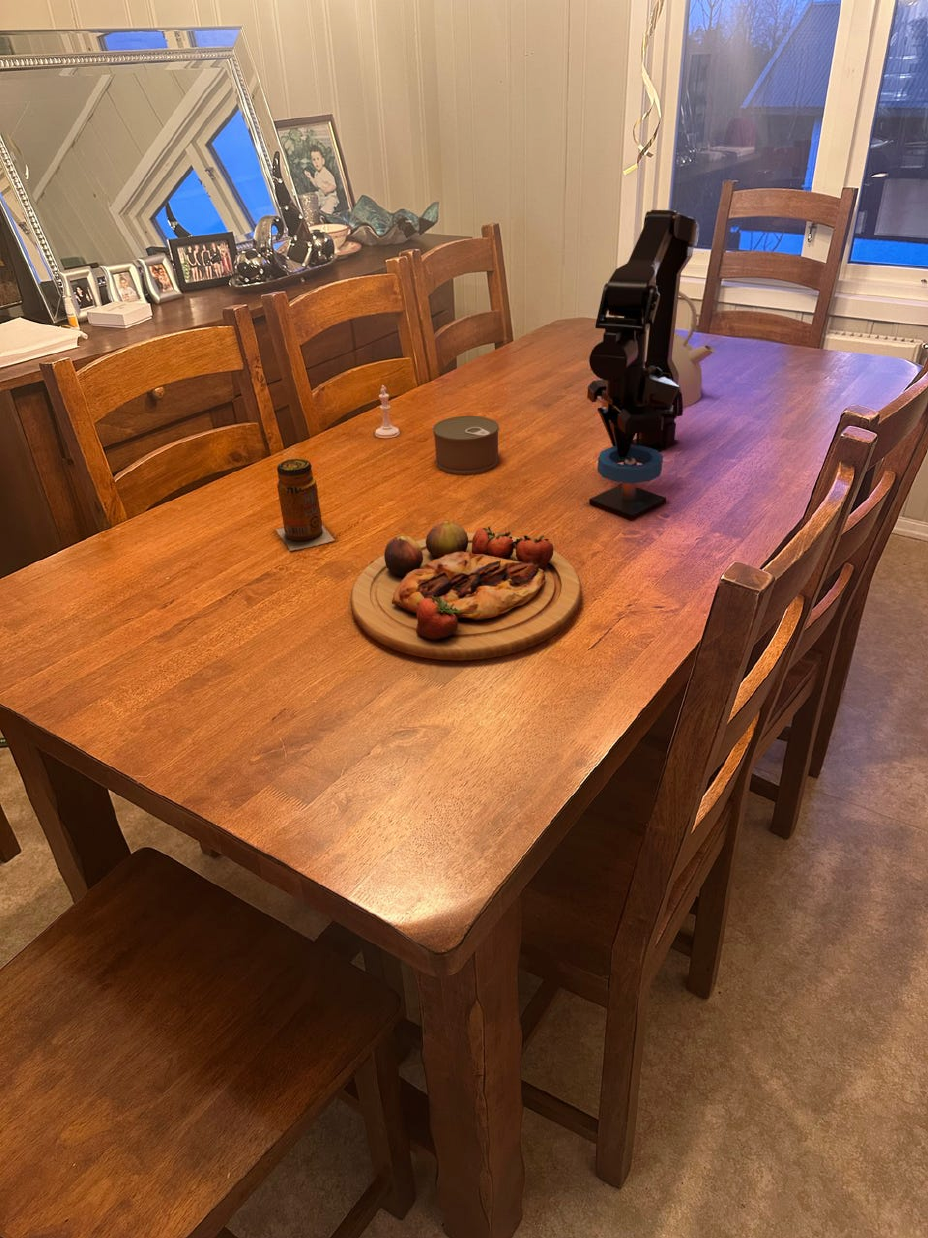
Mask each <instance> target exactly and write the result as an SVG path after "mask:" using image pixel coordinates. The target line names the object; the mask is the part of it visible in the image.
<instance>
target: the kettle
mask: <svg viewBox="0 0 928 1238" xmlns="http://www.w3.org/2000/svg"><path fill="white" fill-rule="evenodd" d="M678 297H680V298H682V299H683V300H684V301H685V302H686V303H687V304H688V305H689V307H690V310H691V314H692V323H691V327H690V330H689V332H688V334H687V336H686V338H684V337H683V336H682V335H681V334H679V333H678V332H676V331H675V333H674V342H673V351H672V361H673V363H674V365H675V367H676V369H677V371H678V373H679V380H678V385H680V387H681V392H682V395H683V408H685V407H688V406H691V405H693V404H695V403H697V402H698V401H699V400H700V399H701V397H702V383H703V373H702V366H701V362H702V361H704V360H705V359H707V358H708V357H709V356H711V355H712V354H714V353H715V349H714V348H713V347H711V346H710V345H708V344H704V345H702V346H699V347H696V348H694V347H693V346H692V345H691V343H689V342H690V340H691V339H692V337H693V335H694V333H695V330H696V327H697V322H698V315H697V310H696V307H695V304H694V302H693V301H692V299H691V298H690V297H689V296H688V295H686V294H685V293H683V292H682V291H681V290H679V296H678ZM613 317H618V318H619V316H613ZM648 336H649V329H648V330H647V336H646V351H645V361H646V357H647V347H648ZM597 380H603V379H600V378H599V377H597V376H596V381H597ZM601 397H602V396H597V400H599V401H601V402H602V400H601ZM672 406H673V405H672Z"/></svg>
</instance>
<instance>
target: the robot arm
mask: <svg viewBox="0 0 928 1238" xmlns="http://www.w3.org/2000/svg"><path fill="white" fill-rule="evenodd" d="M643 219H644V220H643V227H642V229H641V232H640V234H639V235H638V239H637V241H636V243H635V245H634V247H633V250H632V251H631V254H630V256H629V258H628V261H627V262H626V263H625V264H623V265H621V266H619V267H618V268H616V269H615V270H614V271H613V272H612V274H611V275H610V278H609V279H608V282H606V283H605V284H604V286H603V290H602V294H601V298H600V303H599V306H598V307H599V308H598V311H597V316H596V321H595V329H601V330H604V332H603V335H602V339H601V340H600V341H599V342H598V343H597V344H596V345H595V346H594V347H593V348H592V350H591V352H590V355H589V357H588V358H589V359H588V361H589V362H588V363H589V367H590V370H591V372H592V373H593V374H594V375H595V376H596V378H597V377H599V378H600V379H603V380H597V379H596V380H592V382H590V383H589V385H588V386H587V392H586V393H587V394H586V395H587V399H588V400H589V401H590V402H591V403H596V402H597V400H598V398H597V396H602V397H601V400H602V401H601V400H600V401H601V403H602V404H601V407H598V408H597V413H598V414H599V416H600V419H601V421H602V423H603V425H604V428H605V431H606V433H607V435H608V438H609V441H610V444H611V445H612V447H613V446H616V447H617V451H618V454H619V457H620V458H624V457H626V456H627V454H628V452H629V449H630V447H631V445H637V446H645V447H648V448H652V449H655V450H657V451H658V452H662V451H663V450H665V449H667V448H670V447H672V446H674V445H676V444H678V441H679V440H678V439H675V438H676V428H677V423H676V421H675V419H677V418H678V417H682V416H683V414H684V407H683V395H682V392H681V387H680V385H678V380H679V373H678V371H677V369H676V367H675V365H674V363H673V361H672V351H673V342H674V333H675V332H676V323H677V314H678V313H677V312H678V305H679V297H680V296H679V291H680V285H681V276H682V273H683V270H684V269H685V268H686V266H687V265H688V263H689V262H690V260H691V259H692V257H693V255H694V248H696V247H697V245H698V241H699V235H700V226H699V223H698V222H697V221H696V219H694V218H693V216H686V215H683V214H681V213H680V212H679V211H676V210H675V209H651V210H649V211H646V212H645V216H644V218H643ZM607 315H609V316H607ZM614 316H618V317H614ZM648 329H649V336H648V347H647V357H646V361H645V351H646V336H647V330H648ZM672 405H673V406H672Z"/></svg>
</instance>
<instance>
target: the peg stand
mask: <svg viewBox="0 0 928 1238" xmlns="http://www.w3.org/2000/svg"><path fill="white" fill-rule="evenodd" d="M622 465H638V463H637V462H636V460H635V459H634V458H631V457H630V458H627V459H625V460H624V462H622ZM636 484H637V483H620V484H618V485H616V486H614V487H612V488H610V489H607V490H605V491H603V492H602V493H599V494H597V495H594V496H593V497H591V498H589V500H588V501H589V502H588V505H590V506H593V507H594V508H595V507H596V508H598V509H600V510H603V511H606V512H608V513H611V514H612V515H613V514H614V515H616V516H619V517H621V518H623V519H626V520H629V521H634V520H637V519H638V518H640V517H642V516H643V515H646V514H647V513H649V512H652V511H653V510H656V509H657V508H659V507H661V506H663V505H665V504H666V503H667V497H666V496H663V495H661V494H658V493H655V492H652V491H648V490H647V489H643V488H640V487H637V486H636Z"/></svg>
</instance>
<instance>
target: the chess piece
mask: <svg viewBox="0 0 928 1238" xmlns="http://www.w3.org/2000/svg"><path fill="white" fill-rule="evenodd" d="M379 391H380V394H379V395H378V398H379V401H380V403H381V405H380V406H379V409H380V410H382V424H381V426H380V427H378V428H377V429H375V431H374V432H375V437H377V438H379V439H392V438H393V439H394V438H395V437H397V436H399V435H400V433H401V431H400V429H399V428H398V427H396V426H393V424H391V420H390V415H389V411H388V410H389V409H391V405H390V404H388V403H389V398H390V394H388V393H386V391H387V387H386V386H385V384H382V385H381V389H379Z"/></svg>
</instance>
